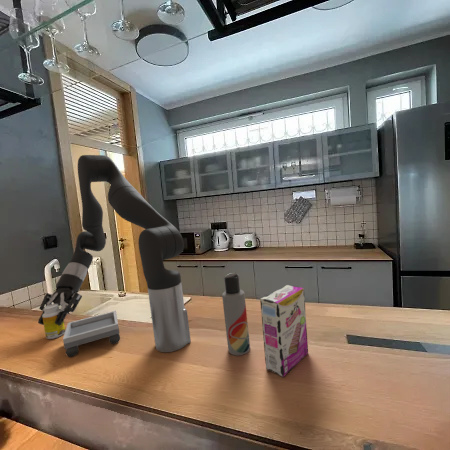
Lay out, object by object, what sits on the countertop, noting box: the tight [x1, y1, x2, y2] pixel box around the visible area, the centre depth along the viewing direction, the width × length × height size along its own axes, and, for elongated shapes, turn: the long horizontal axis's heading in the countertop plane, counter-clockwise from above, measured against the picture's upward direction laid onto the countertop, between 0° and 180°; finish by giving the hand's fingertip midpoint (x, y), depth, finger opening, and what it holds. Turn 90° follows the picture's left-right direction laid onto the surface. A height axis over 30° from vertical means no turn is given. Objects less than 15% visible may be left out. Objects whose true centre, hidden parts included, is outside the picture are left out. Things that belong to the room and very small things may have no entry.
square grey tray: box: [62, 310, 121, 358], centre depth 79 cm, size 14×12×6 cm
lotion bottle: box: [221, 272, 251, 356], centre depth 66 cm, size 6×6×20 cm
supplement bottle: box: [41, 303, 66, 340], centre depth 86 cm, size 6×6×10 cm
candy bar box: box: [259, 284, 309, 378], centre depth 59 cm, size 11×5×16 cm, turn 135°
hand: (49, 323), depth 85 cm, fingers open, 6 cm apart
